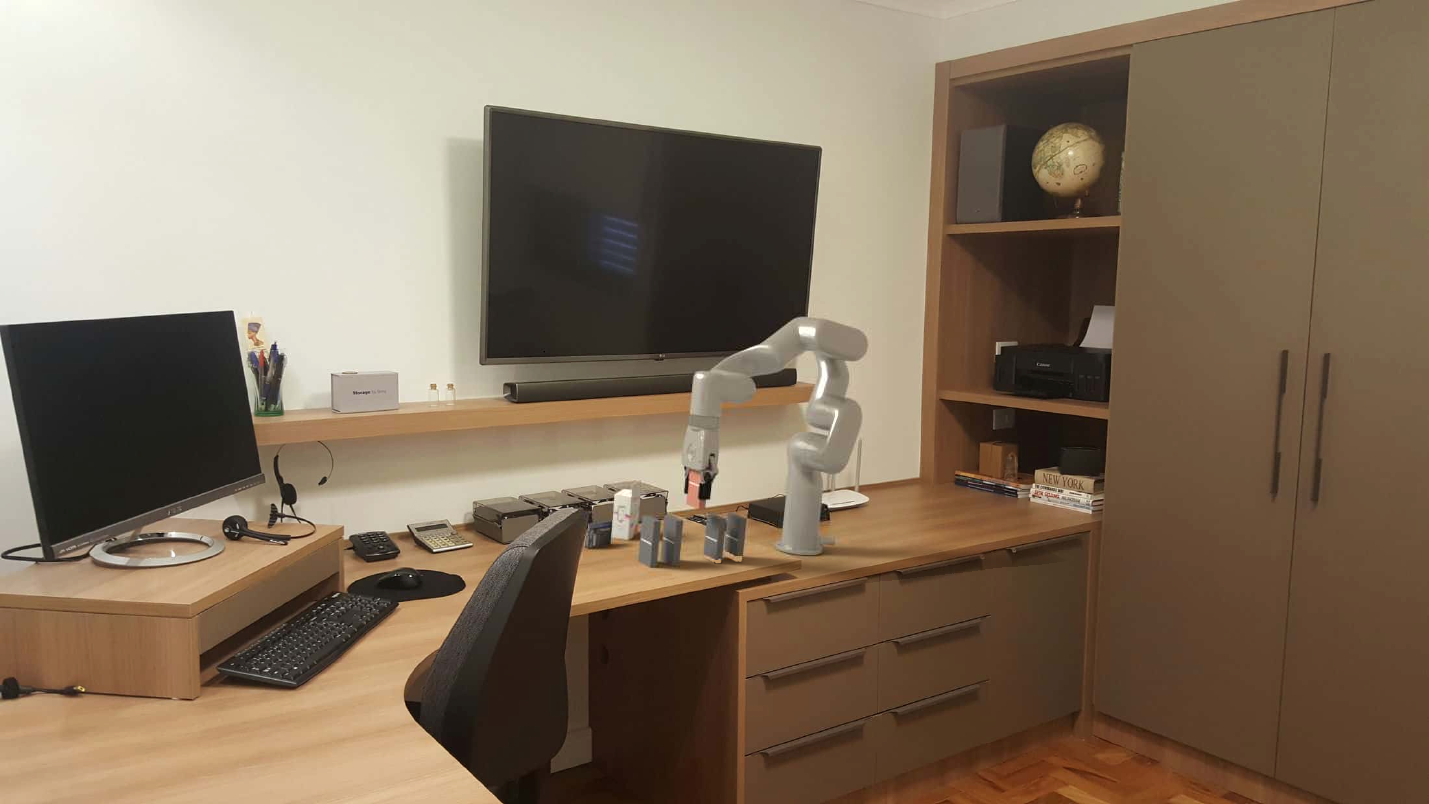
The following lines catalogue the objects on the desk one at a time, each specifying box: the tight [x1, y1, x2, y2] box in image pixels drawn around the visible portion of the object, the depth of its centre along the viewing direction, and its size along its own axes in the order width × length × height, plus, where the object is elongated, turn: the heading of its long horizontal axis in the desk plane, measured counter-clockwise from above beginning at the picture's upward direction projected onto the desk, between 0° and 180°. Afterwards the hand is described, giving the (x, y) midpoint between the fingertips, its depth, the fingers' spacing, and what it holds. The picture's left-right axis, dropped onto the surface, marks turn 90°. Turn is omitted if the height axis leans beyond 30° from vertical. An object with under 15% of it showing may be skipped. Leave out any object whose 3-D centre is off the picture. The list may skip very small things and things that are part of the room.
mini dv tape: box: [583, 520, 613, 550], centre depth 252 cm, size 8×2×6 cm, turn 143°
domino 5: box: [723, 512, 748, 557], centre depth 251 cm, size 2×6×11 cm, turn 31°
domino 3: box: [685, 467, 709, 510], centre depth 244 cm, size 2×6×11 cm, turn 31°
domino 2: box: [660, 514, 684, 567], centre depth 242 cm, size 2×6×11 cm, turn 31°
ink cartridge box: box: [611, 480, 642, 541], centre depth 264 cm, size 9×5×15 cm, turn 168°
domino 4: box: [702, 513, 727, 560], centre depth 248 cm, size 2×6×11 cm, turn 31°
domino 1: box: [638, 515, 662, 569], centre depth 239 cm, size 2×6×11 cm, turn 31°
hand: (696, 495), depth 244 cm, fingers closed on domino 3, 5 cm apart
